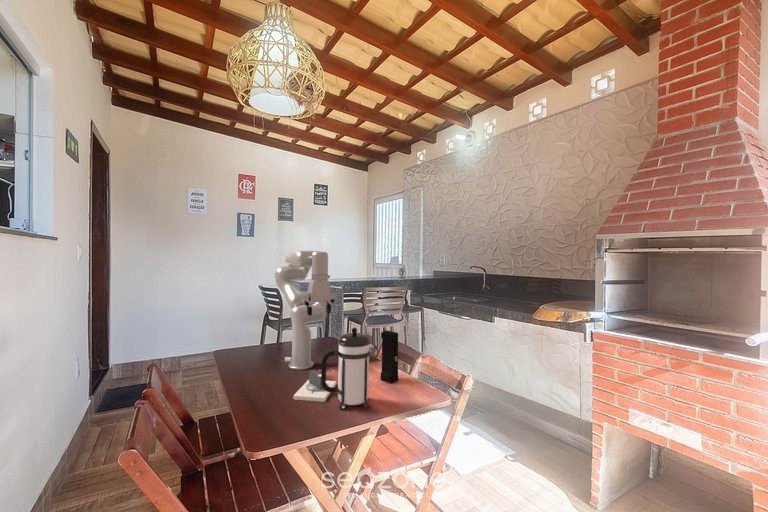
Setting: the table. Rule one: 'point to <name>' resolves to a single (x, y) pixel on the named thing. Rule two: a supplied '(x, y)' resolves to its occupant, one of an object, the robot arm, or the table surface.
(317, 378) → the dial
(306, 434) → the table surface
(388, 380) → the portable radio
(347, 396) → the coffee press
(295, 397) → the dial panel
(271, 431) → the table surface
